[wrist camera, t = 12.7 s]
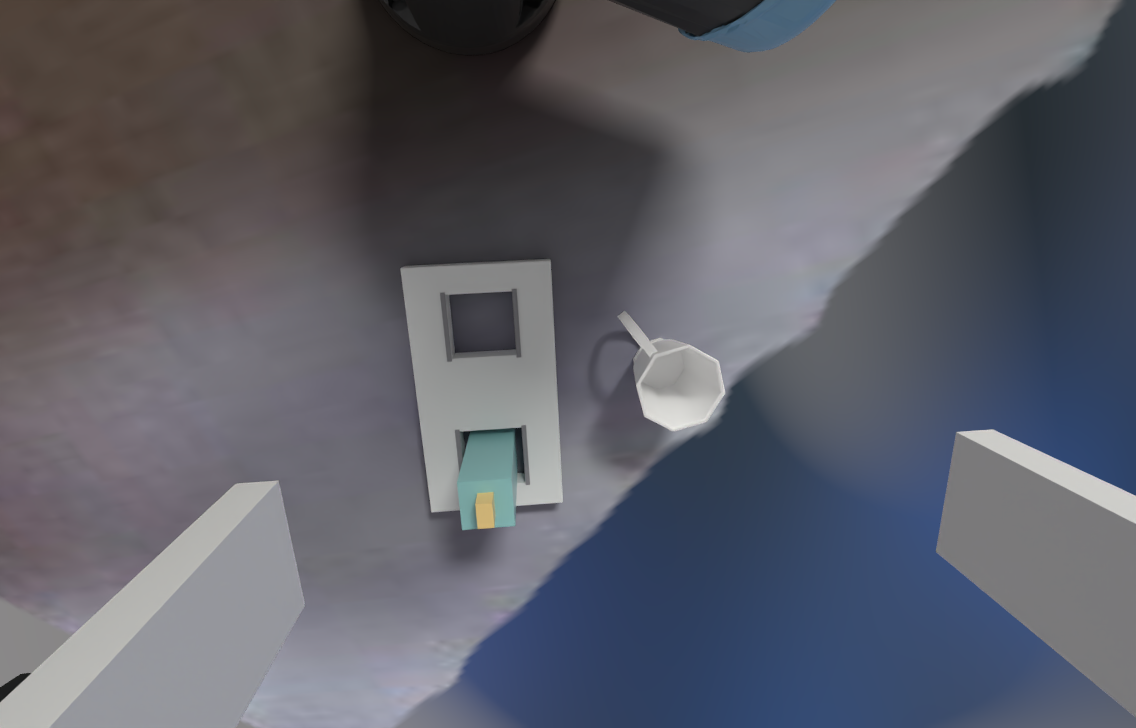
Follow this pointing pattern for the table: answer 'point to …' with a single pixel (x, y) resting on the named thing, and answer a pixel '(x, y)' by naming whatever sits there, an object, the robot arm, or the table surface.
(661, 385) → the cup
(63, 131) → the table surface
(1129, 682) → the robot arm
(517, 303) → the panel
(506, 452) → the plug
